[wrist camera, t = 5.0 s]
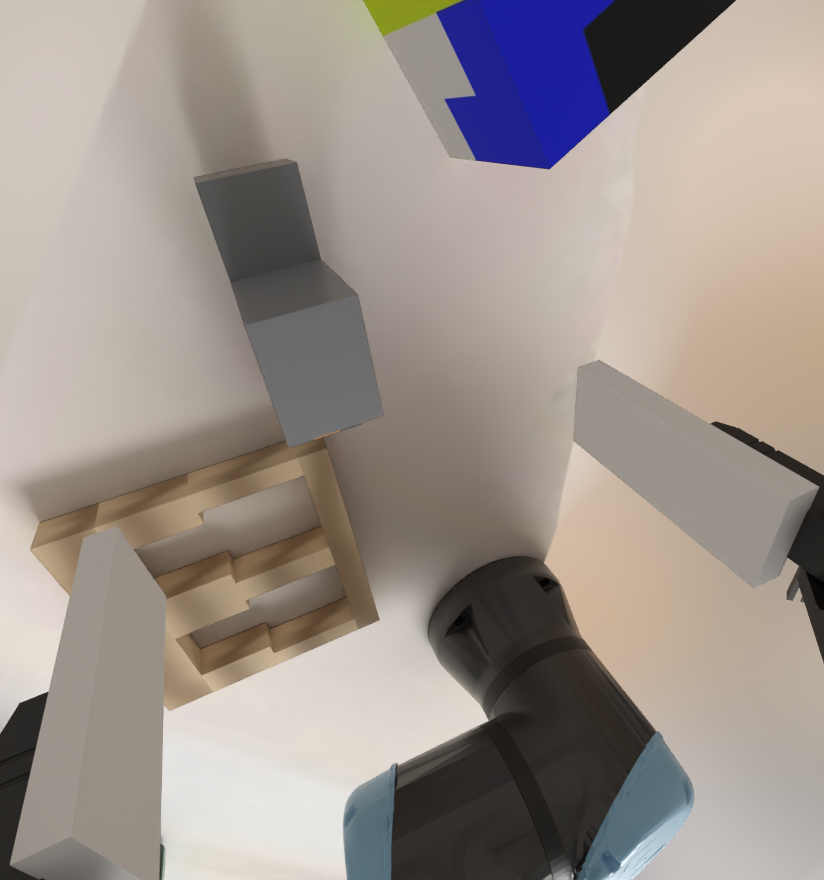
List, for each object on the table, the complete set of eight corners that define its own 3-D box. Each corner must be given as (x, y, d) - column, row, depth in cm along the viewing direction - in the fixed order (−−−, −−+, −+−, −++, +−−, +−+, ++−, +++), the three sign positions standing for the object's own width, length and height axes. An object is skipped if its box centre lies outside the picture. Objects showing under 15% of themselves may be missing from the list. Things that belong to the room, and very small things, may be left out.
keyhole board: (318, 429, 35) (326, 448, 33) (371, 598, 46) (379, 619, 44) (39, 522, 31) (29, 549, 29) (169, 683, 42) (169, 711, 40)
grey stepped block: (279, 156, 26) (331, 173, 17) (340, 389, 34) (398, 485, 25) (192, 174, 25) (199, 201, 16) (277, 409, 33) (313, 517, 24)
